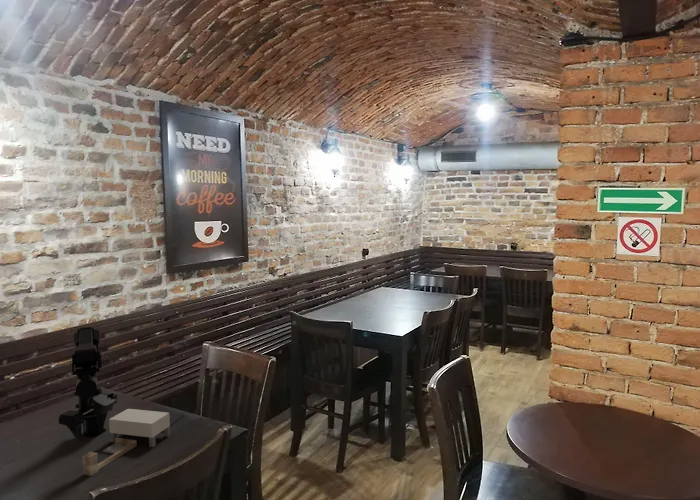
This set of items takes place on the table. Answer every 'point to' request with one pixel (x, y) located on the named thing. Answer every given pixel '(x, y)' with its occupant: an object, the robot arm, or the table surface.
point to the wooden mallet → (92, 459)
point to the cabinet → (140, 424)
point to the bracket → (175, 420)
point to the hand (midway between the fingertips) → (90, 434)
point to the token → (115, 448)
